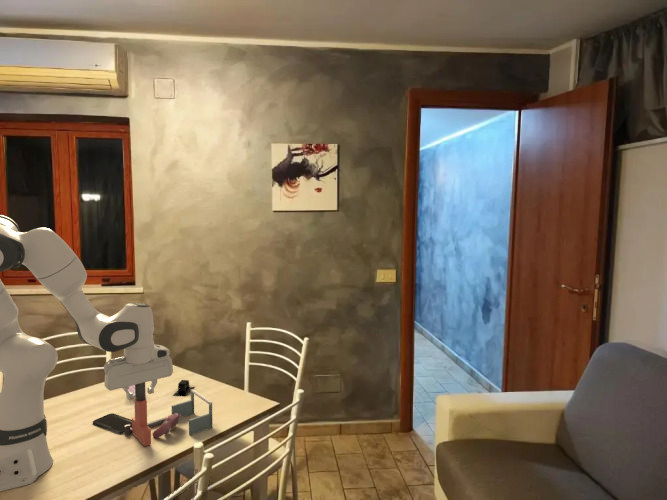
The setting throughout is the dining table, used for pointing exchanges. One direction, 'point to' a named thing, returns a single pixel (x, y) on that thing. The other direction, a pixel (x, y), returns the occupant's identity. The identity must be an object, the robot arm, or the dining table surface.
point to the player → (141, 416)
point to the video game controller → (167, 425)
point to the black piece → (183, 388)
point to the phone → (113, 423)
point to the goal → (188, 409)
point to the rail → (151, 424)
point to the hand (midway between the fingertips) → (140, 395)
